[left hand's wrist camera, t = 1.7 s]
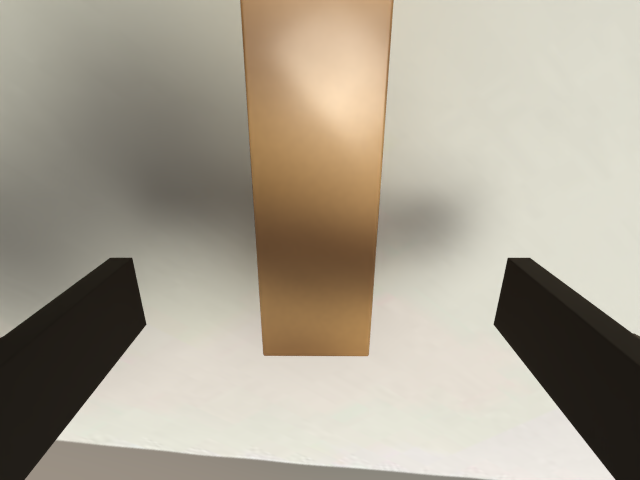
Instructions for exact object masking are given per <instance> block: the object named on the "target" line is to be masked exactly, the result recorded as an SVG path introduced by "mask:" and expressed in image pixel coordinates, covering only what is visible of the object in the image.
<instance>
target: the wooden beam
mask: <svg viewBox="0 0 640 480" xmlns="http://www.w3.org/2000/svg"><path fill="white" fill-rule="evenodd" d="M240 3H241V19H242V34H243V50H244V65H245V80H246V96H247V111H248V126H249V142H250V157H251V172H252V188H253V203H254V219H255V234H256V249H257V265H258V280H259V295H260V311H261V326H262V342H263V354H264V356H368V355H369V344H370V329H371V315H372V301H373V286H374V272H375V258H376V244H377V229H378V215H379V201H380V186H381V172H382V158H383V143H384V129H385V115H386V100H387V86H388V72H389V57H390V43H391V29H392V14H393V0H240Z"/></svg>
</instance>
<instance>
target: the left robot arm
mask: <svg viewBox="0 0 640 480" xmlns="http://www.w3.org/2000/svg"><path fill="white" fill-rule="evenodd" d="M145 326H146V321H145V316H144V311H143V307H142V302H141V297H140V293H139V288H138V283H137V279H136V274H135V269H134V264H133V260H132V258H109V259H108V260H107V261H105V262H104V263H103V264H101V265H100V266H98V267H97V268H96V269H94V270H93V271H92V272H90V273H89V274H88V275H86V276H85V277H84V278H82V279H81V280H79V281H78V282H77V283H75V284H74V285H73V286H71V287H70V288H69V289H67V290H66V291H65V292H63V293H62V294H61V295H59V296H58V297H56V298H55V299H54V300H52V301H51V302H50V303H48V304H47V305H46V306H44V307H43V308H42V309H40V310H39V311H37V312H36V313H35V314H33V315H32V316H31V317H29V318H28V319H27V320H25V321H24V322H23V323H21V324H20V325H18V326H17V327H16V328H14V329H13V330H12V331H10V332H9V333H8V334H6V335H5V336H3V337H1V338H0V480H25V478H26V477H27V476H28V475H29V473H30V472H31V471H32V470H33V468H34V467H35V466H36V464H37V463H38V462H39V461H40V459H41V458H42V457H43V455H44V454H45V453H46V452H47V450H48V449H49V448H50V447H51V445H52V444H53V443H54V441H55V440H56V439H57V438H58V436H59V435H60V434H61V433H62V431H63V430H64V429H65V427H66V426H67V425H68V424H69V422H70V421H71V420H72V419H73V417H74V416H75V415H76V413H77V412H78V411H79V410H80V408H81V407H82V406H83V405H84V403H85V402H86V401H87V399H88V398H89V397H90V396H91V394H92V393H93V392H94V391H95V389H96V388H97V387H98V385H99V384H100V383H101V382H102V380H103V379H104V378H105V377H106V375H107V374H108V373H109V371H110V370H111V369H112V368H113V366H114V365H115V364H116V362H117V361H118V360H119V359H120V357H121V356H122V355H123V354H124V352H125V351H126V350H127V348H128V347H129V346H130V345H131V343H132V342H133V341H134V340H135V338H136V337H137V336H138V334H139V333H140V332H141V331H142V329H143V328H144V327H145ZM494 326H495V327H496V328H497V329H498V331H499V332H500V333H501V334H502V336H503V337H504V338H505V340H506V341H507V342H508V343H509V345H510V346H511V347H512V348H513V350H514V351H515V352H516V354H517V355H518V356H519V357H520V359H521V360H522V361H523V362H524V364H525V365H526V366H527V368H528V369H529V370H530V371H531V373H532V374H533V375H534V377H535V378H536V379H537V380H538V382H539V383H540V384H541V385H542V387H543V388H544V389H545V391H546V392H547V393H548V394H549V396H550V397H551V398H552V399H553V401H554V402H555V403H556V405H557V406H558V407H559V408H560V410H561V411H562V412H563V413H564V415H565V416H566V417H567V419H568V420H569V421H570V422H571V424H572V425H573V426H574V427H575V429H576V430H577V431H578V433H579V434H580V435H581V436H582V438H583V439H584V440H585V441H586V443H587V444H588V445H589V447H590V448H591V449H592V450H593V452H594V453H595V454H596V456H597V457H598V458H599V459H600V461H601V462H602V463H603V464H604V466H605V467H606V468H607V470H608V471H609V472H610V473H611V475H612V476H613V477H614V478H615V480H640V336H638V335H636V334H632V333H631V332H630V331H628V330H627V329H626V328H624V327H623V326H622V325H620V324H619V323H617V322H616V321H615V320H613V319H612V318H611V317H609V316H608V315H607V314H605V313H604V312H603V311H601V310H600V309H598V308H597V307H596V306H594V305H593V304H592V303H590V302H589V301H588V300H586V299H585V298H584V297H582V296H581V295H579V294H578V293H577V292H575V291H574V290H573V289H571V288H570V287H569V286H567V285H566V284H565V283H563V282H562V281H561V280H559V279H558V278H556V277H555V276H554V275H552V274H551V273H550V272H548V271H547V270H546V269H544V268H543V267H542V266H540V265H539V264H537V263H536V262H535V261H533V260H532V259H531V258H508V260H507V264H506V269H505V274H504V279H503V283H502V288H501V293H500V297H499V302H498V307H497V311H496V316H495V321H494Z"/></svg>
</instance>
